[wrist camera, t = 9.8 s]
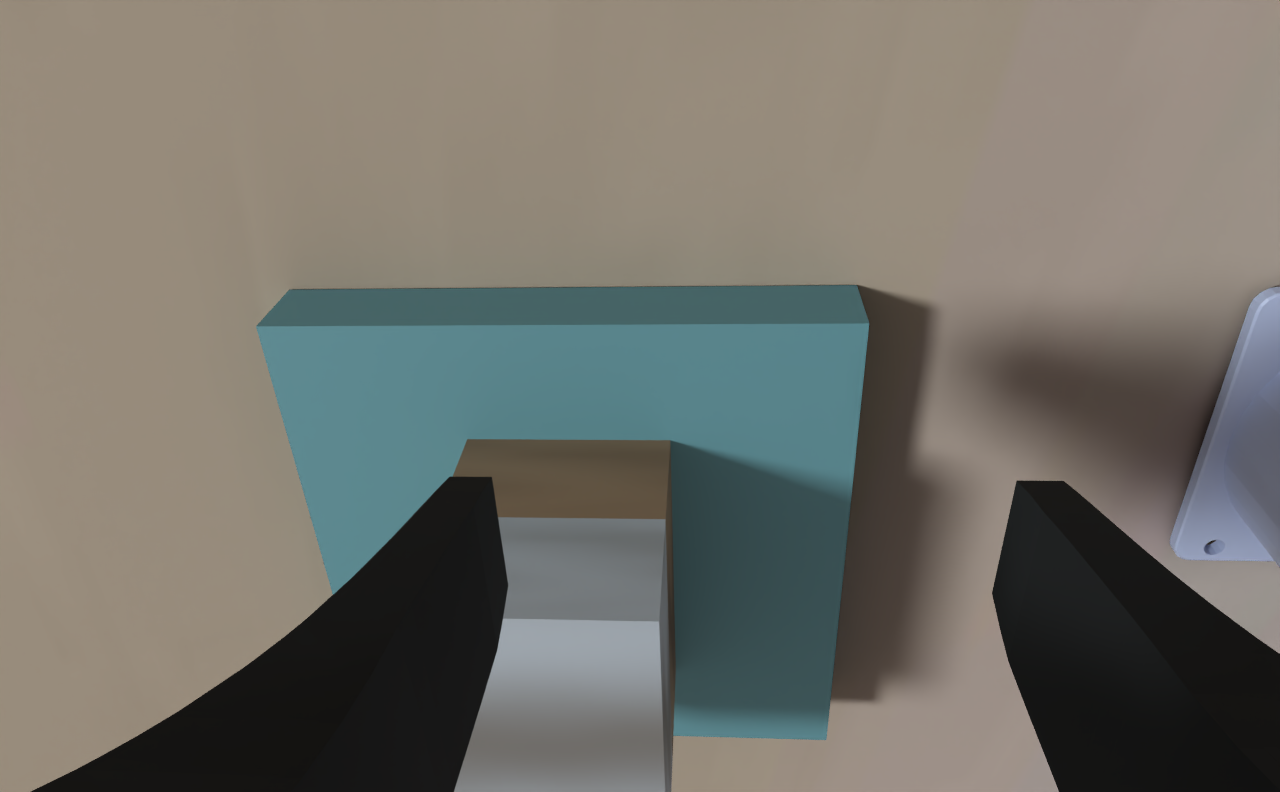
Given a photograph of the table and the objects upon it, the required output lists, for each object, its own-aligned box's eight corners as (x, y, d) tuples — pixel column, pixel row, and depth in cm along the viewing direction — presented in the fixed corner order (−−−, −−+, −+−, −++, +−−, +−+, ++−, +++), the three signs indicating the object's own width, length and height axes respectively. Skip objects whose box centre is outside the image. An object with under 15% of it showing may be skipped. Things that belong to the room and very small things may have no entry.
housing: (675, 670, 26) (667, 870, 21) (504, 666, 27) (456, 862, 22) (670, 440, 22) (658, 621, 17) (467, 439, 23) (397, 616, 18)
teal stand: (856, 285, 22) (869, 323, 20) (819, 686, 29) (826, 739, 28) (289, 289, 23) (256, 326, 21) (389, 676, 30) (371, 727, 29)
